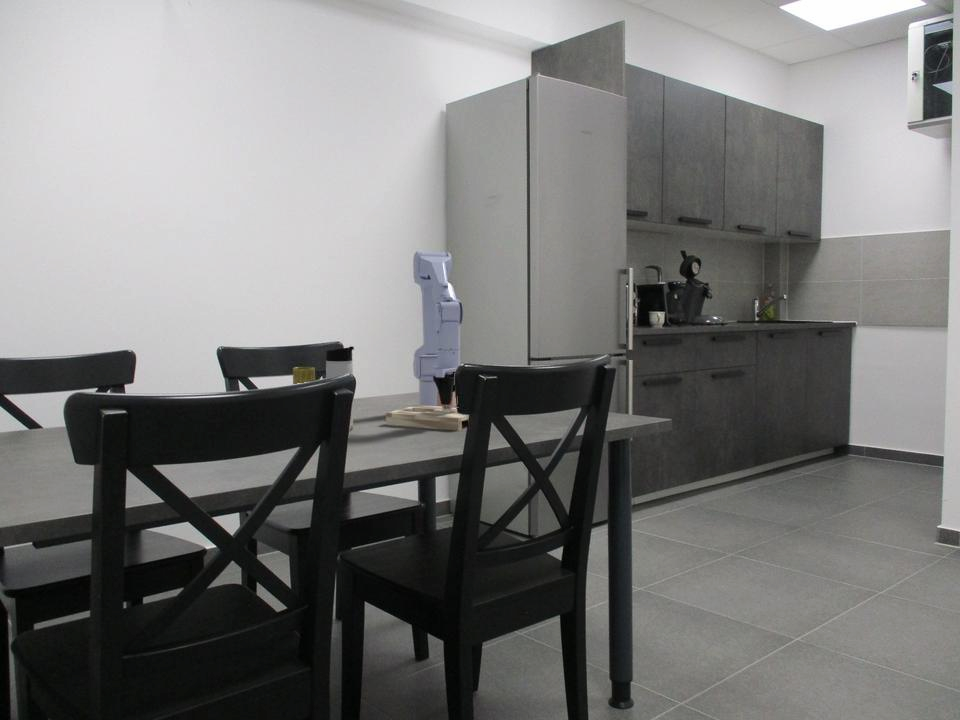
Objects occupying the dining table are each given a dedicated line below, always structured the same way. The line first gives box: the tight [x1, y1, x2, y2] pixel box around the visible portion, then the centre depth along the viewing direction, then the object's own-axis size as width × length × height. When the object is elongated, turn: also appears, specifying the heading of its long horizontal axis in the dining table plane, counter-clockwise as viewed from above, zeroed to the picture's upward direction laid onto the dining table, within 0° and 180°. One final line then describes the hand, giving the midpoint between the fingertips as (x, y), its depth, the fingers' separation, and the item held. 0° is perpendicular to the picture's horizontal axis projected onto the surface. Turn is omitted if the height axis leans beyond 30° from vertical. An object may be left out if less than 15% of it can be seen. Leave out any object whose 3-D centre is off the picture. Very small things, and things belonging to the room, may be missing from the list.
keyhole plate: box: [385, 404, 469, 432], centre depth 203 cm, size 16×20×3 cm
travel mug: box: [325, 346, 355, 431], centre depth 191 cm, size 6×7×20 cm
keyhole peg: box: [437, 391, 457, 414], centre depth 201 cm, size 5×5×8 cm
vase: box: [292, 366, 316, 385], centre depth 198 cm, size 6×6×14 cm
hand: (448, 403), depth 201 cm, fingers closed on keyhole peg, 4 cm apart
